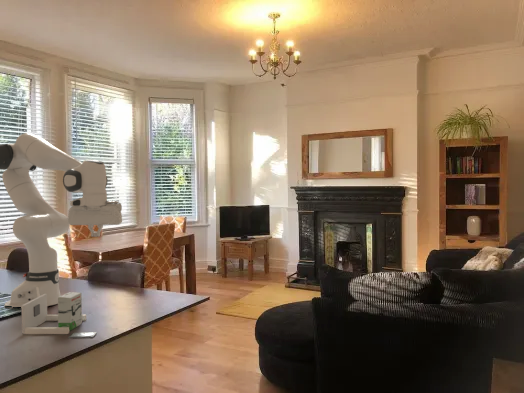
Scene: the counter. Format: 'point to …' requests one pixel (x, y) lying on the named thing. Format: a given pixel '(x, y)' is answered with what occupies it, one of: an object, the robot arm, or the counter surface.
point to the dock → (40, 318)
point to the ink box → (70, 310)
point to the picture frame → (83, 335)
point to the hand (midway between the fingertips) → (95, 236)
